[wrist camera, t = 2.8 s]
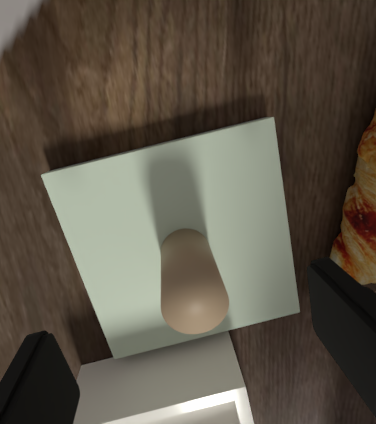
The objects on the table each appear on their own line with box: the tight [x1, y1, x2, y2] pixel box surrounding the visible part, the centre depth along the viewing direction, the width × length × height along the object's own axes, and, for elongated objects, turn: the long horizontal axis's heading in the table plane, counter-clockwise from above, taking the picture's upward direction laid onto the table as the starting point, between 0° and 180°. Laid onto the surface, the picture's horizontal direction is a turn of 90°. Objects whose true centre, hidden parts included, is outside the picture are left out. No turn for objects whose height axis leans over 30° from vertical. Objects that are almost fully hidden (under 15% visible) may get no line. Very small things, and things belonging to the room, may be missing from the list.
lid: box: [41, 117, 300, 359], centre depth 16 cm, size 13×13×6 cm
